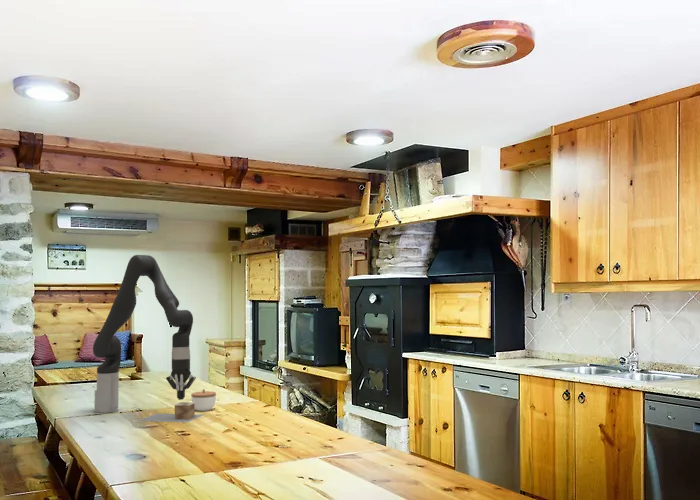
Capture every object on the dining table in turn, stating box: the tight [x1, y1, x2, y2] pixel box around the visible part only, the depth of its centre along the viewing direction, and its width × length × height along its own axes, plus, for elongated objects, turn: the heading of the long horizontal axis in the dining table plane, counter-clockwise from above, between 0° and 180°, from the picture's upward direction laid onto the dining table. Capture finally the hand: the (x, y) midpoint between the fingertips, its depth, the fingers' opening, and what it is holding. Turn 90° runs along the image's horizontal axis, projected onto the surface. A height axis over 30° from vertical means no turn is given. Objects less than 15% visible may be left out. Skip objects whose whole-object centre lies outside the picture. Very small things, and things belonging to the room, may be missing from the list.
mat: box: [137, 413, 203, 423], centre depth 275 cm, size 22×16×1 cm
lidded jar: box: [190, 388, 217, 412], centre depth 293 cm, size 11×11×9 cm
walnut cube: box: [174, 401, 196, 420], centre depth 274 cm, size 6×6×6 cm
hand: (181, 399), depth 275 cm, fingers closed
